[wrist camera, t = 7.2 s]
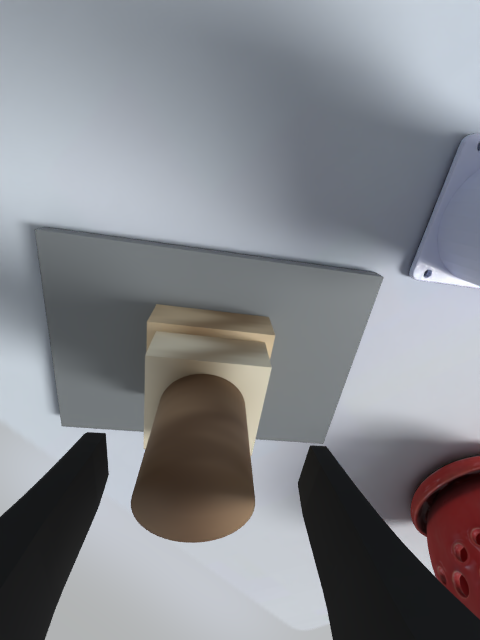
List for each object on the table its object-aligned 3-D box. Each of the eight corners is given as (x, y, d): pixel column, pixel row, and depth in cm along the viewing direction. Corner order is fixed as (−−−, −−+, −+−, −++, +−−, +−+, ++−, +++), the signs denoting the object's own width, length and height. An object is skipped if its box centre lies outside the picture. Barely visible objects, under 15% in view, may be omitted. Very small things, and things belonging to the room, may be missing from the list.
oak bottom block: (268, 317, 18) (275, 335, 16) (251, 403, 21) (254, 429, 19) (156, 304, 18) (146, 321, 15) (153, 395, 21) (145, 421, 18)
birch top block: (264, 342, 16) (271, 367, 14) (248, 422, 19) (251, 455, 17) (156, 330, 16) (145, 355, 13) (153, 415, 18) (143, 448, 16)
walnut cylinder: (248, 374, 14) (261, 463, 10) (242, 440, 16) (249, 541, 12) (156, 372, 14) (125, 463, 9) (160, 440, 16) (135, 543, 11)
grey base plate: (375, 272, 19) (383, 277, 18) (319, 434, 24) (323, 443, 24) (44, 227, 16) (34, 229, 16) (68, 416, 22) (61, 426, 21)
